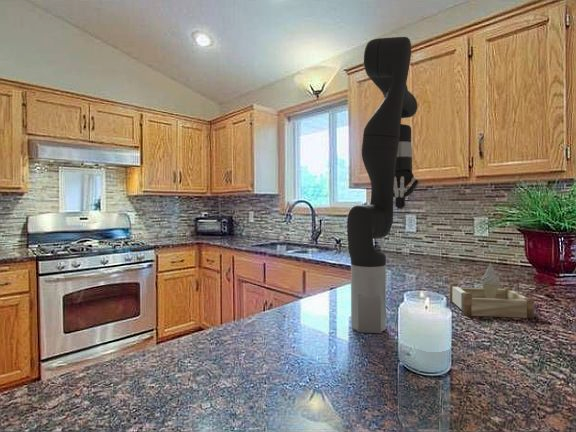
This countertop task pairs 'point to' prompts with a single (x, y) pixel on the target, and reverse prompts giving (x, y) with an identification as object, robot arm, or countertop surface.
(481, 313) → the shallow wooden tray
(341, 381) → the countertop surface
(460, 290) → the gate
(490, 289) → the ice cream cone
